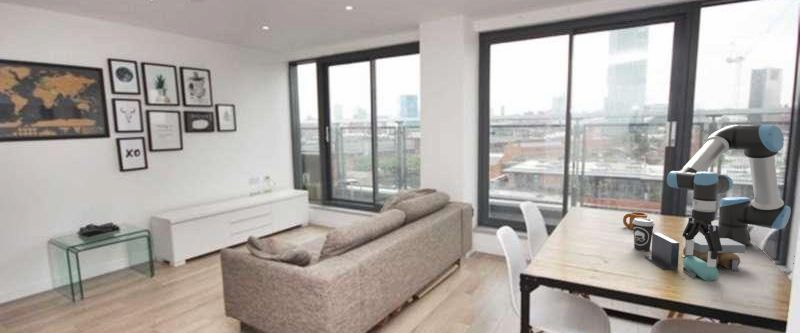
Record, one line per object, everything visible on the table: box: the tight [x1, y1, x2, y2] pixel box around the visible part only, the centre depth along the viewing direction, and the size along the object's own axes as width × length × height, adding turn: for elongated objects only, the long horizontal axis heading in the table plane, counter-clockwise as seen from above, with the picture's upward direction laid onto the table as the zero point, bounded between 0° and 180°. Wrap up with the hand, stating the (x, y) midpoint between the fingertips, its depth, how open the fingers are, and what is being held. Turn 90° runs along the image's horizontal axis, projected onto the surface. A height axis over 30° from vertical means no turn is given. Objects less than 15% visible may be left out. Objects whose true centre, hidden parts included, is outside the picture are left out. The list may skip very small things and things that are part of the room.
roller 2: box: [682, 256, 719, 282], centre depth 163 cm, size 12×6×6 cm, turn 175°
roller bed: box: [681, 255, 741, 279], centre depth 171 cm, size 23×25×5 cm
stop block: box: [643, 232, 680, 271], centre depth 176 cm, size 6×15×12 cm, turn 175°
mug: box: [622, 211, 648, 231], centre depth 232 cm, size 9×12×9 cm
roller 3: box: [717, 253, 741, 269], centre depth 174 cm, size 14×7×7 cm, turn 175°
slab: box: [685, 237, 746, 254], centre depth 174 cm, size 18×10×4 cm, turn 85°
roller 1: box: [682, 245, 719, 266], centre depth 175 cm, size 14×7×7 cm, turn 175°
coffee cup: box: [632, 217, 656, 252], centre depth 196 cm, size 10×10×15 cm
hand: (699, 260), depth 162 cm, fingers open, 13 cm apart
